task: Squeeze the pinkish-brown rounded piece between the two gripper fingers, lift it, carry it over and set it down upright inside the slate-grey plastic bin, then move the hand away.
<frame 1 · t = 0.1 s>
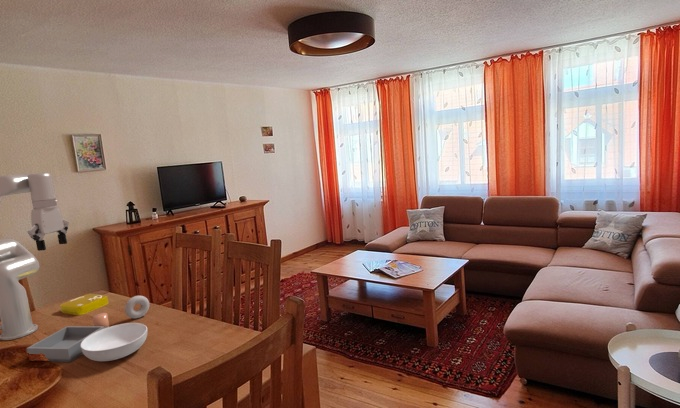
hand: (52, 246, 154), 37 cm above the table, tool pointing down, fingers open, 9 cm apart
element tile: (85, 308, 187), on the table
bin: (69, 349, 145), on the table
pinkish-brown rounded piece: (102, 331, 159), on the table
donut: (139, 318, 170), on the table
serving bowl: (118, 353, 140), on the table
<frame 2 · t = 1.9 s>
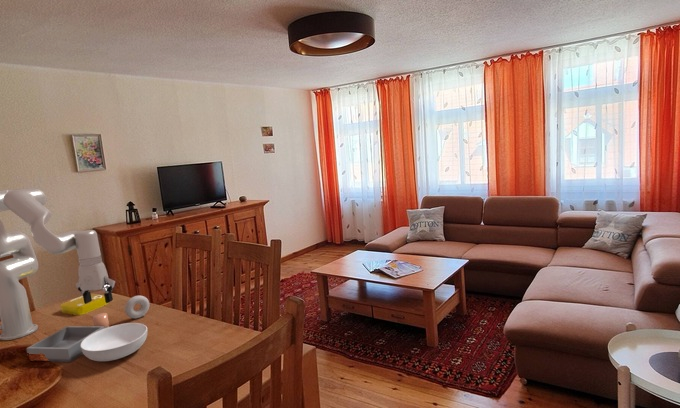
hand: (98, 302, 157), 13 cm above the table, tool pointing down, fingers open, 9 cm apart
nothing on the table moved.
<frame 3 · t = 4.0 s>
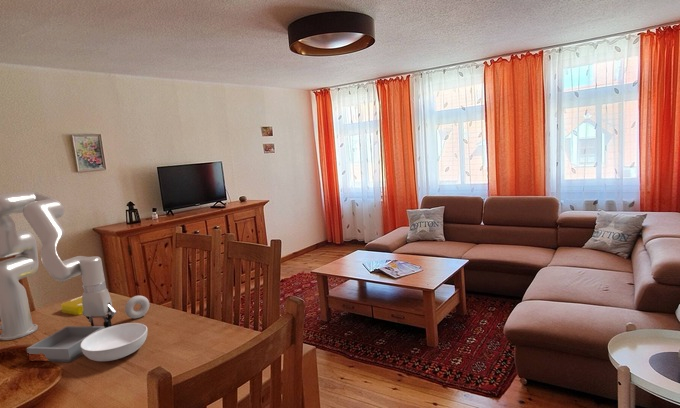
hand: (102, 329, 159), 1 cm above the table, tool pointing down, fingers closed on pinkish-brown rounded piece, 5 cm apart
pinkish-brown rounded piece: (102, 331, 159), on the table, touching gripper
everything else where it was.
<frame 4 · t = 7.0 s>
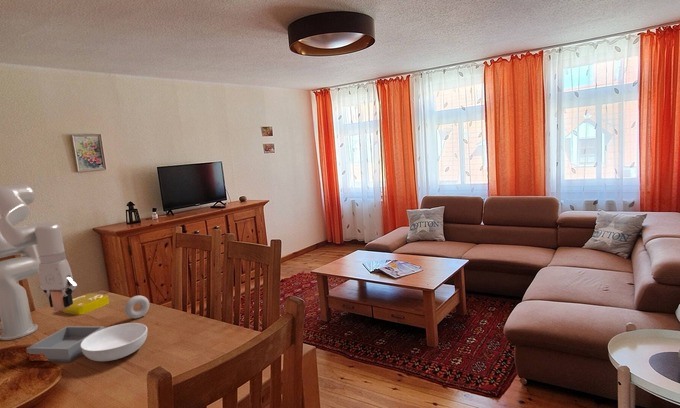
hand: (61, 305, 143), 17 cm above the table, tool pointing down, fingers closed on pinkish-brown rounded piece, 5 cm apart
pinkish-brown rounded piece: (62, 307, 143), point 16 cm above the table, touching gripper
everything else where it was.
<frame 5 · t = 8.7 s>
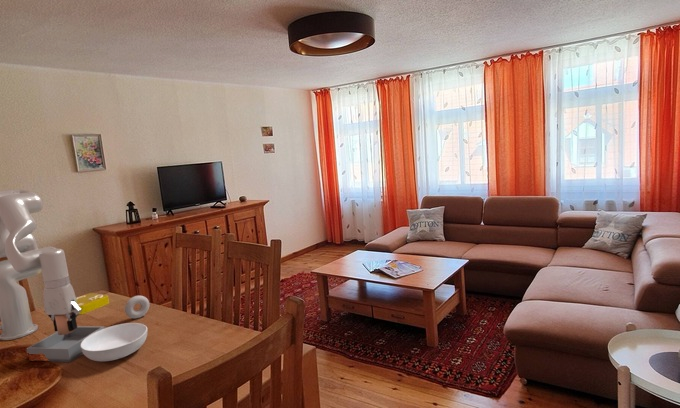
hand: (66, 329, 144), 8 cm above the table, tool pointing down, fingers closed on pinkish-brown rounded piece, 5 cm apart
pinkish-brown rounded piece: (66, 331, 144), point 7 cm above the table, touching gripper
everything else where it was.
when the fingers open (3 cm above the table, at t = 10.0 s): pinkish-brown rounded piece drops 1 cm, resting on bin.
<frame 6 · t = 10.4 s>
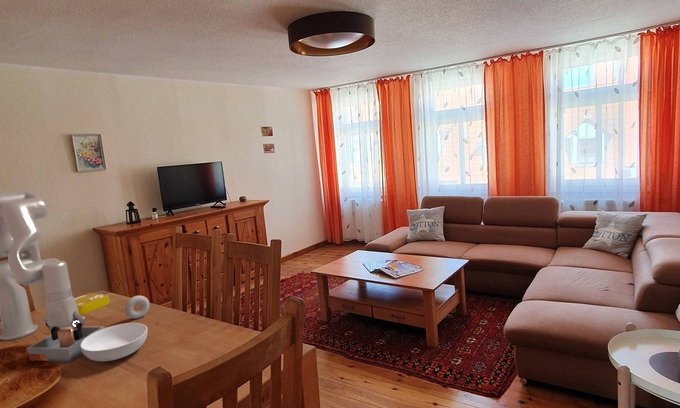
hand: (67, 338, 145), 4 cm above the table, tool pointing down, fingers open, 9 cm apart
pinkish-brown rounded piece: (69, 346, 145), point 1 cm above the table, touching bin
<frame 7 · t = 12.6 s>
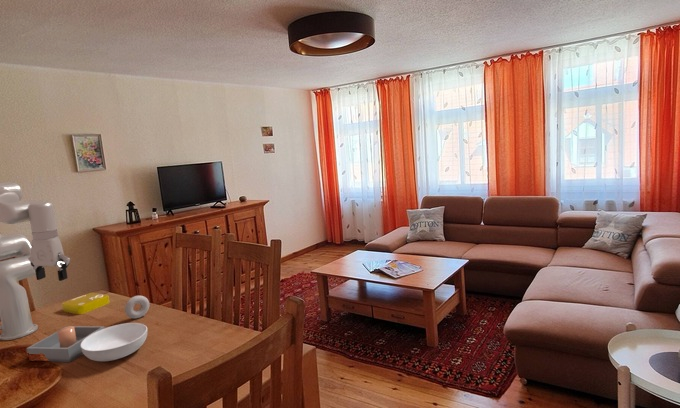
hand: (52, 279, 147), 26 cm above the table, tool pointing down, fingers open, 9 cm apart
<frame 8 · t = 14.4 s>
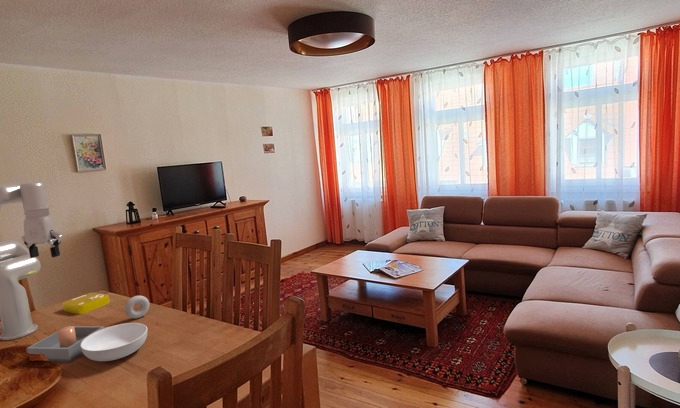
hand: (45, 256, 153), 33 cm above the table, tool pointing down, fingers open, 9 cm apart
at the end: pinkish-brown rounded piece inside the target area on the bin (0.0 cm from its centre), point 1.0 cm above the bin's base; pinkish-brown rounded piece tilted 0°; the gripper is holding nothing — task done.
